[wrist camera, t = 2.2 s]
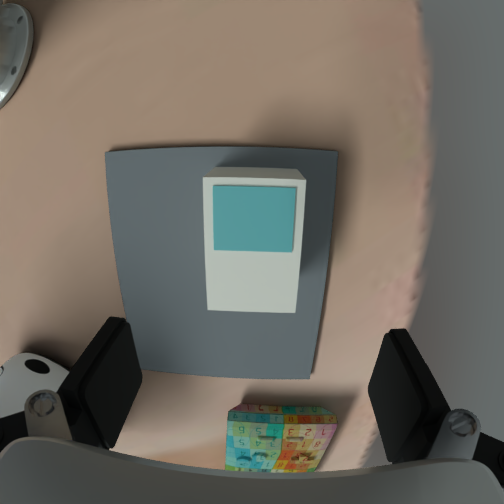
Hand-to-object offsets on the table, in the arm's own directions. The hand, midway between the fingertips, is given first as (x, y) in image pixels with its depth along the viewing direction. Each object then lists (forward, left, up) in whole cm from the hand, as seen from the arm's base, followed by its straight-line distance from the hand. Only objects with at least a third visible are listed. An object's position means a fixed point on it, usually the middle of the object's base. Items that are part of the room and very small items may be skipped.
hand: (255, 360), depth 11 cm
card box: (0, 0, -15) cm, 15 cm away
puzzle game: (+30, +3, -16) cm, 34 cm away
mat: (+5, -3, -15) cm, 16 cm away
